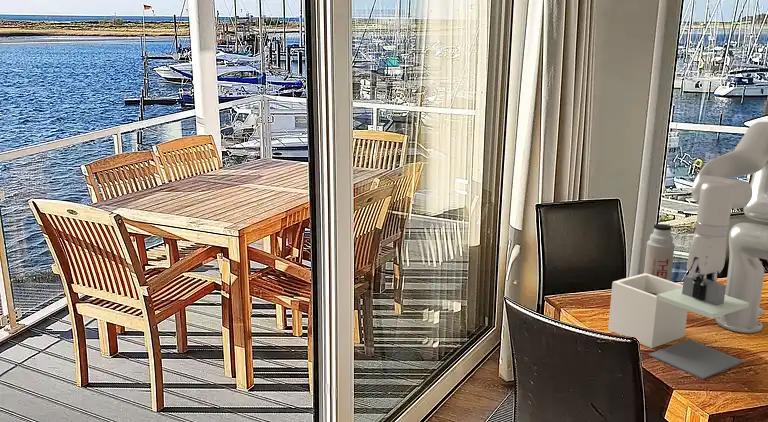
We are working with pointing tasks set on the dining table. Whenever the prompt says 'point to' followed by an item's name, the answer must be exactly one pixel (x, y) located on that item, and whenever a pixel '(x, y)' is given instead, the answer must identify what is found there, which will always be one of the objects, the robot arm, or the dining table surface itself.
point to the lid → (710, 307)
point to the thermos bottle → (660, 252)
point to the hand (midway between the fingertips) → (702, 296)
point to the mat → (696, 358)
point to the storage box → (645, 310)
